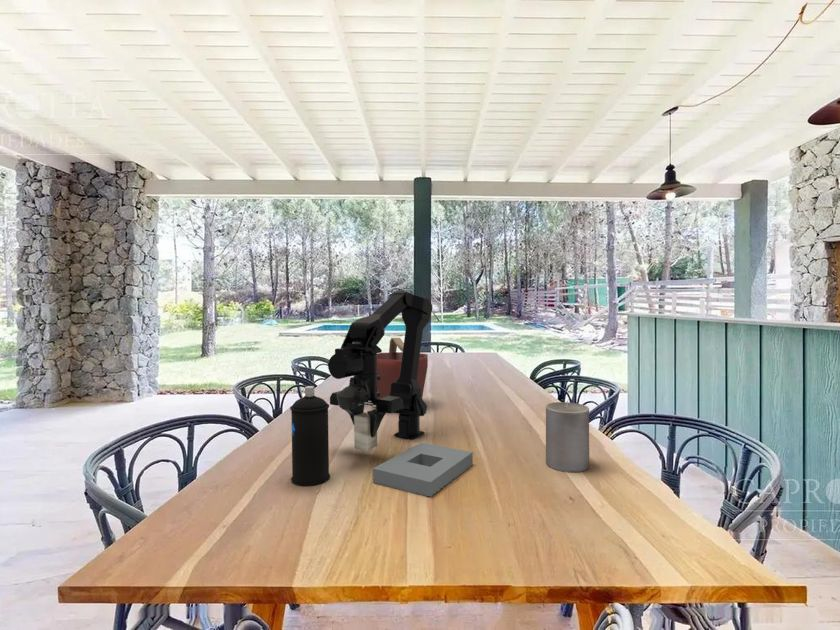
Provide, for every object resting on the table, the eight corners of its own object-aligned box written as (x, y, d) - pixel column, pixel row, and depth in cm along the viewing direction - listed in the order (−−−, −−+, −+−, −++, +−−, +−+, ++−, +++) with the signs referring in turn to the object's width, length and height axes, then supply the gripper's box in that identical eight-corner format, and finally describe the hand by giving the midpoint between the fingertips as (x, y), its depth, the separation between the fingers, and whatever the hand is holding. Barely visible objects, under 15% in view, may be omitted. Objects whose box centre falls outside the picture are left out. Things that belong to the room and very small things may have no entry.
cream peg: (364, 443, 114) (364, 412, 114) (377, 446, 112) (377, 414, 112) (354, 448, 111) (354, 415, 110) (367, 450, 109) (367, 417, 108)
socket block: (421, 454, 113) (421, 442, 113) (472, 464, 106) (472, 452, 106) (373, 482, 96) (372, 468, 96) (430, 497, 88) (430, 482, 88)
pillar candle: (558, 454, 112) (558, 394, 112) (596, 464, 105) (596, 400, 105) (537, 465, 106) (537, 401, 105) (577, 476, 99) (577, 408, 98)
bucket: (427, 416, 149) (427, 341, 148) (360, 417, 149) (360, 341, 148) (427, 400, 173) (427, 335, 172) (370, 400, 173) (369, 335, 172)
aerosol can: (337, 473, 101) (336, 384, 100) (317, 488, 93) (315, 391, 92) (305, 469, 103) (304, 382, 102) (283, 483, 95) (281, 389, 95)
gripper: (313, 374, 109) (314, 438, 109) (376, 381, 99) (377, 451, 100) (344, 368, 118) (344, 427, 119) (404, 373, 109) (404, 438, 109)
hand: (365, 435), depth 111 cm, fingers closed on cream peg, 4 cm apart
